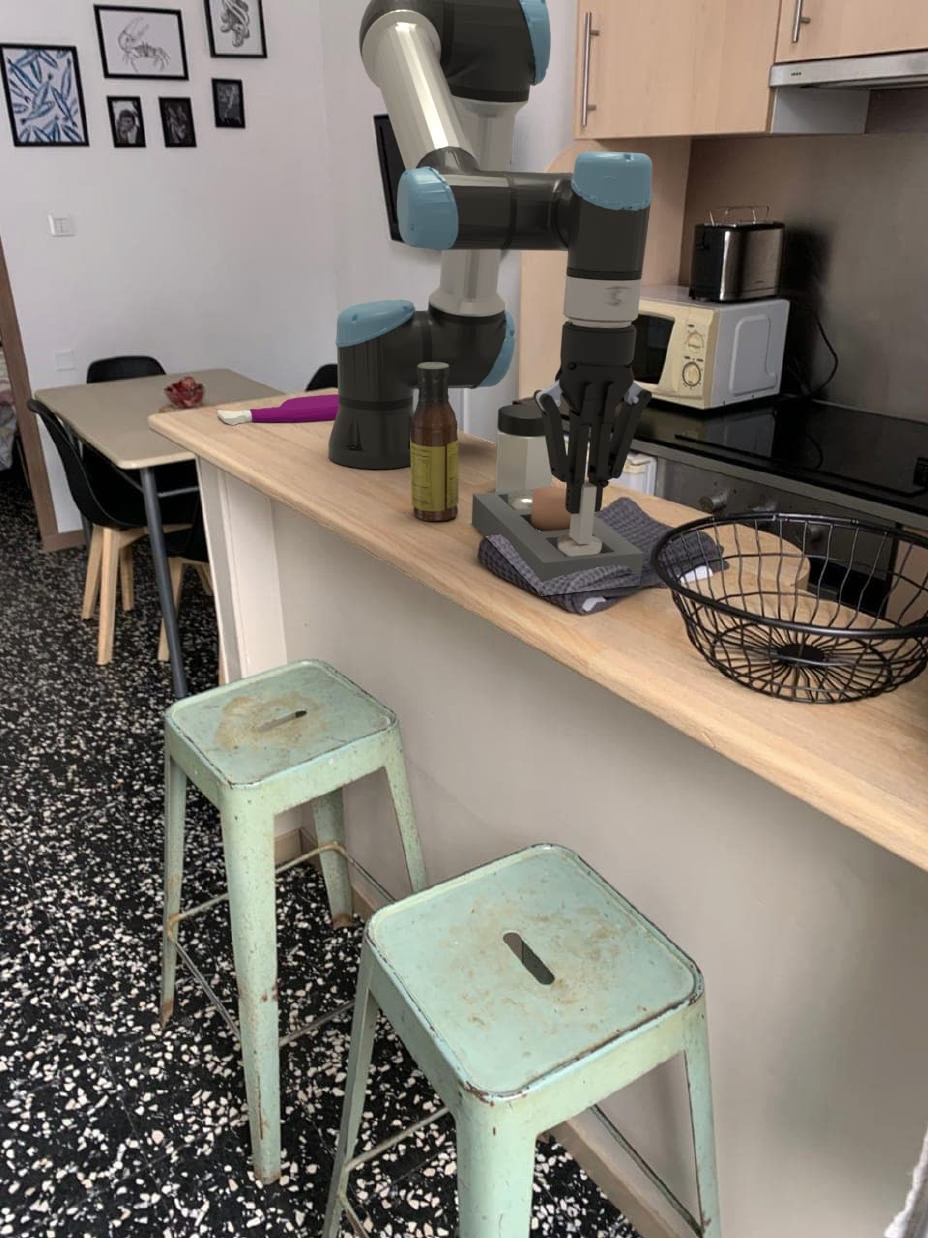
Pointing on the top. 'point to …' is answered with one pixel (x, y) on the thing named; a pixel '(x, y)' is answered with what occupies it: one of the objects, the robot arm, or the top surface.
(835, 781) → the top surface
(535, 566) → the knob mount
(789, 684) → the top surface
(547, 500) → the middle knob
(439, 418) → the sauce bottle
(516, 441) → the jar
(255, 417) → the spray bottle
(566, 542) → the knob
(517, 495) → the knob
